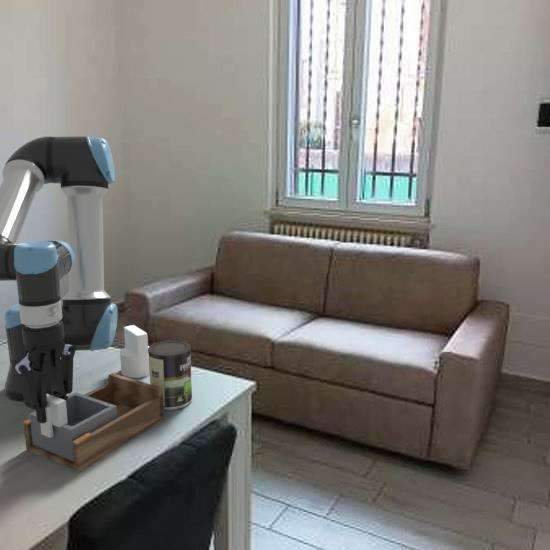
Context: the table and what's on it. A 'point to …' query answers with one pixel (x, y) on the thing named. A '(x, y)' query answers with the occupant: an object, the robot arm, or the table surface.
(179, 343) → the coffee can
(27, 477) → the table surface
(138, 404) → the bay
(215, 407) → the table surface
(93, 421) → the box
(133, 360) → the base with upright slab
